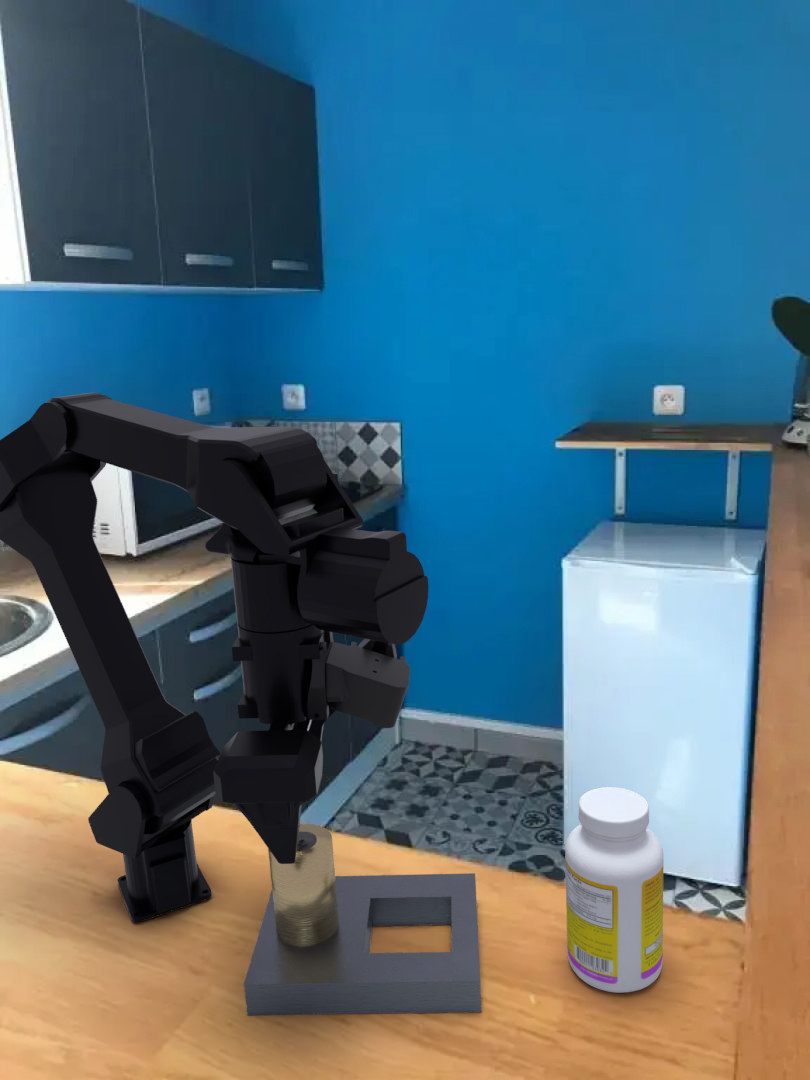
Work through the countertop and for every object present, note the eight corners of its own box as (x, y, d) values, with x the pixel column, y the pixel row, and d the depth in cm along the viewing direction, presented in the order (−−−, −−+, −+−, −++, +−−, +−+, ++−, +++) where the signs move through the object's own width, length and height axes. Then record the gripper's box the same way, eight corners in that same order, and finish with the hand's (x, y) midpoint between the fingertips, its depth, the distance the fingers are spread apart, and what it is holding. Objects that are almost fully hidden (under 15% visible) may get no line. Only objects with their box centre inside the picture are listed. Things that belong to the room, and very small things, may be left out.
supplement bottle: (647, 930, 70) (649, 776, 67) (674, 994, 64) (678, 826, 60) (558, 936, 70) (556, 782, 67) (577, 1001, 64) (576, 833, 60)
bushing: (267, 918, 70) (259, 835, 68) (324, 898, 72) (317, 816, 70) (289, 954, 66) (281, 866, 64) (349, 932, 68) (342, 846, 66)
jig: (247, 1015, 64) (243, 984, 63) (277, 904, 75) (275, 877, 75) (481, 1012, 63) (480, 980, 62) (476, 900, 75) (475, 873, 74)
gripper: (391, 669, 53) (404, 905, 57) (405, 574, 71) (414, 759, 75) (199, 674, 54) (225, 908, 58) (261, 579, 72) (277, 762, 76)
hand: (297, 824), depth 67 cm, fingers open, 9 cm apart
